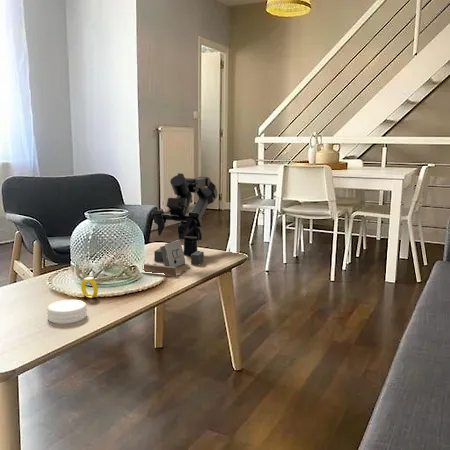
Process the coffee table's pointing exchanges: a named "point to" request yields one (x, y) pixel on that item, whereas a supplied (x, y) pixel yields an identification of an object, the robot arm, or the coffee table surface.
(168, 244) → the electrical switch
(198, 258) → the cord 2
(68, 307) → the coaster
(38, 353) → the coffee table surface
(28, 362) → the coffee table surface
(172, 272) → the bay
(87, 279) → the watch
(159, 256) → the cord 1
